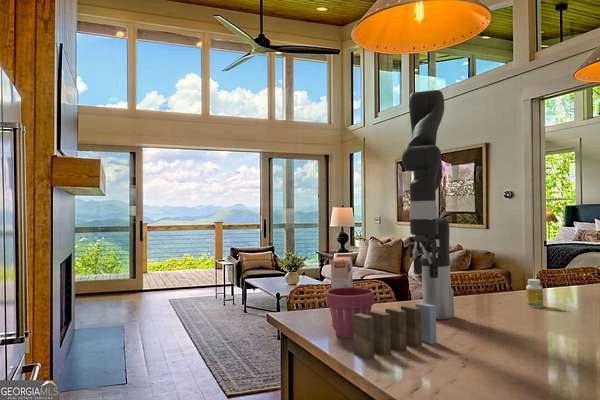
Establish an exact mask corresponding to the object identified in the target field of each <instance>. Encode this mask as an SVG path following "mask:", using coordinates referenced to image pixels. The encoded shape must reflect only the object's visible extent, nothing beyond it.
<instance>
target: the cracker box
mask: <svg viewBox="0 0 600 400" xmlns="http://www.w3.org/2000/svg"><path fill="white" fill-rule="evenodd" d="M330 266H331V268H330V272H331V275H330V276H331V277H330V278H331V289H334V288H343V287H354V286H353V285H354V283H353V281H354V280H353V257H352V256H336V257H335V258H333V259H332V260H331V261H330ZM331 324H332V325H331V326H332V327H334V324H333V320H332V319H331Z"/></svg>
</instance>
